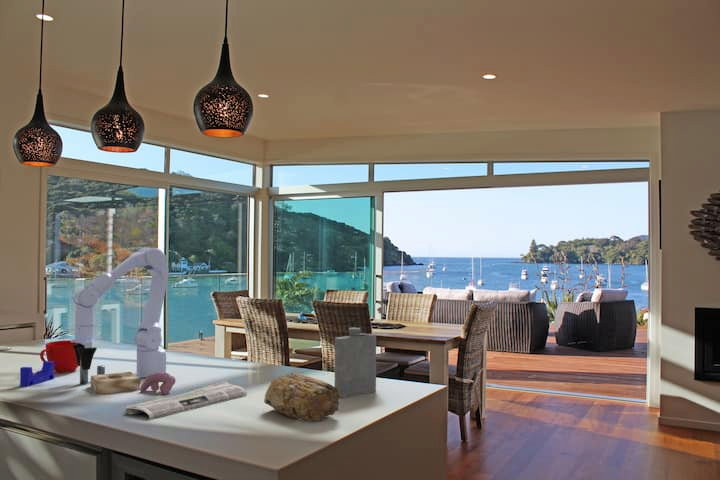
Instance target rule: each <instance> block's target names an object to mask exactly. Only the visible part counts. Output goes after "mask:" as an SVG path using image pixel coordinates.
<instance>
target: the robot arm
mask: <svg viewBox="0 0 720 480" xmlns="http://www.w3.org/2000/svg"><path fill="white" fill-rule="evenodd" d="M166 260H167V255H166V254H165V253H164V252H163V251H162V250H161V249H160V248H158V247H151V248H150V247H142V248H139V249H138V250H137V251H134V252H133V253H132V254H131V255H130V256H128V257H127V258H126V259H125V260H124V261H122V262H121V263H120V264H119V265H117V266H116V267H115V268H114V269H112V270H111V271H110V272H109V273H107V272H103V273H98V274H96V276H95V279H93V280H91V281H90V282H89V283H85V284H84V285H83V286H84V287H83V288H78V289H77V290H76V291H75V292H74V294H73V296H72V302H73V303H74V304H75V308H74V309H75V311H74V339H70V340H71V342H75V343H77V344H74V345H72V347H73V349H74V351H75V354H76V359H77V364H78V367H80V359H81V366H82V370H88V371H89V370H91V366H92V362H93V358H94V355H95V353H96V351H97V350H98V349H97V347H93V343H94V342H95V305H96V304H97V302H98V299H101V297H102V296H105V294H106V293H108V292H109V291H110V290H111V289H113V288H114V287H115V286H116V281H118V280H119V279H121V278H122V277H123V276H125V275H126V274H128V273H129V272H130V271H132V270H133V269H135V268H139V267H143V268H145V269H146V270H147V271H148V273H149V274H150V275H151V282H150V285H149V292H148V296H147V301H146V305H145V311H144V315H143V318H142V319H143V320H142V321H141V323H140V324H138V325H139V326H138V329H137V331H136V332H135V334H134V336H133V340H134V341H133V342H134V344H135V345H136V372H132V373H133V374H134V375H136V376H138V377H139V378H140V379H141V378H147V376H148V375H150V374H151V373H157V372H164V373H167V354H166V350H165V348H160V346H161V345H162V342H163V337H162V327H161V324H160V319H161V315H162V309H163V304H164V300H165V294H166V291H167V285H168V279H169V274H170V270H169V268H168V265H167V261H166Z"/></svg>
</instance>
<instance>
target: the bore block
mask: <svg viewBox="0 0 720 480" xmlns="http://www.w3.org/2000/svg"><path fill="white" fill-rule="evenodd" d="M133 373H134V372H131V371H125V372H116V373H115V372H114V373H105V374H103V375H97V374H95V375H91V376H90V388H91V389H93V390H94V391H95V392H96V393H97V394H98V395H104V394H113V393H118V392H128V391H129V392H130V391H137V390H139V391H140V387H141V378H139V377H138V376H136V375H134V374H133Z"/></svg>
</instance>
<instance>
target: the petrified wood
mask: <svg viewBox="0 0 720 480" xmlns="http://www.w3.org/2000/svg"><path fill="white" fill-rule="evenodd" d="M263 402H264V404H266V405H268V406H270V407H271V408H273V409H274V410H276V411H277V412H278V413H281V414H282V415H286V416H288V417H291V416H292V417H291V418H294V417H295V419H297V418H298V419H297V420H300V421H303V420H304V421H309V420H310V422H319V421H320V420H322V421H323V420H325V418H326V417H330V416H333V415H334V414H335V413H337V412H338V411H339V405H340V401H339V392H338V389H337V388H336V387H335V385H332V384H331V383H328V382H326V381H323V380H320V379H317V378H314V377H311V376H307V375H304V374H300V373H297V372H296V373H292V372H291V373H290V374H287V375H286V376H281V375H279V376H278V377H277V378H275V379H273V380H271V382H270V384H269V386H268V387H267V390H266V392H265V395H264V400H263Z"/></svg>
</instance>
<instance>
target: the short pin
mask: <svg viewBox="0 0 720 480" xmlns="http://www.w3.org/2000/svg"><path fill="white" fill-rule="evenodd" d="M103 374H106V366H105V365H97V367H96V375H103Z"/></svg>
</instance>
